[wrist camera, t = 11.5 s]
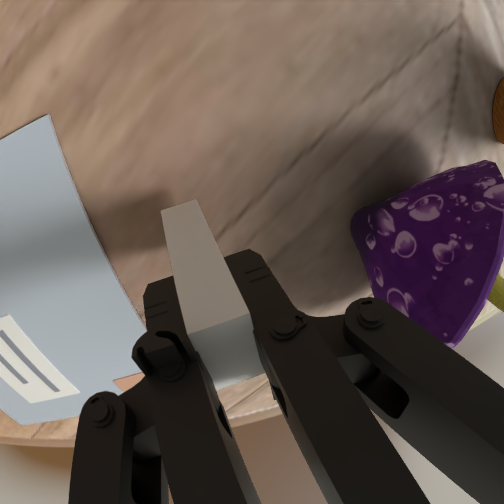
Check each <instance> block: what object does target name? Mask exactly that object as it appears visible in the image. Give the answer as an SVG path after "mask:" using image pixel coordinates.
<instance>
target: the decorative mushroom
mask: <svg viewBox="0 0 504 504" xmlns="http://www.w3.org/2000/svg"><path fill="white" fill-rule="evenodd" d="M350 229H351V235H352V237H353V240H354V242H355V244H356V246H357V248H358V250H359V252H360V254H361V257H362V260H363V263H364V266H365V269H366V272H367V275H368V278H369V282H370V285H371V288H372V292H373V295H374V298H379V299H381V300H383V301H385V302H387V303H389V304H390V305H392V306H393V307H394V308H396V309H397V310H399V311H400V312H401V313H403V314H404V315H406V316H407V317H408V318H410V319H411V320H413V321H414V322H415V323H417V324H418V325H420V326H421V327H422V328H424V329H425V330H427V331H428V332H429V333H431V334H432V335H434V336H435V337H436V338H438V339H439V340H440V341H442V342H443V343H444V344H446V345H447V346H449V347H450V348H451V349H453V348H454V347H455V346H456V345H457V344H458V343H459V342H460V341H461V340H462V339H463V337H464V336H465V334H466V333H467V332H468V330H469V329H470V327H471V326H472V324H473V323H474V321H475V320H476V318H477V317H478V315H479V314H480V312H481V310H482V309H483V307H484V306H485V304H486V302H487V300H489V301H490V302H491V303H492V304H494V305H495V306H496V307H497V308H498V309H500V310H501V311H503V312H504V279H503V278H502V277H501V276H500V275H499V274H498V272H499V270H500V267H501V264H502V261H503V257H504V179H503V177H502V175H501V173H500V171H499V169H498V167H497V165H496V163H494V162H491V161H487V160H483V161H480V162H477V163H474V164H470V165H467V166H462V167H455V168H451V169H449V170H446V171H444V172H442V173H439V174H437V175H434V176H432V177H430V178H427V179H425V180H423V181H421V182H419V183H417V184H415V185H413V186H411V187H409V188H407V189H405V190H403V191H401V192H400V193H398V194H396V195H394V196H392V197H391V198H389V199H387V200H385V201H383V202H380V203H376V204H372V205H369V206H367V207H364V208H362V209H361V210H359V211H358V212H356V213H355V215H354V216H353V218H352V219H351V224H350Z"/></svg>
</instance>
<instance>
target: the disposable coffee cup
mask: <svg viewBox="0 0 504 504" xmlns="http://www.w3.org/2000/svg"><path fill="white" fill-rule="evenodd" d="M493 126H494V132H495V135H496V138H497V139H498V141H499V142H500V143H502V144H504V78H503V79H502V80H501V81H500V83H499V86H498V88H497V91H496V94H495V98H494V105H493Z"/></svg>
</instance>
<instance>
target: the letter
mask: <svg viewBox="0 0 504 504" xmlns="http://www.w3.org/2000/svg"><path fill="white" fill-rule="evenodd" d="M145 332H147V329H146V327H145V325H144V323H143V322H142V320H141V318H140V317H139V315H138V313H137V311H136V310H135V308H134V306H133V305H132V303H131V301H130V299H129V297H128V296H127V294H126V292H125V290H124V288H123V286H122V285H121V283H120V281H119V279H118V277H117V275H116V273H115V271H114V269H113V267H112V266H111V264H110V262H109V260H108V258H107V256H106V254H105V252H104V250H103V247H102V245H101V243H100V241H99V239H98V237H97V235H96V233H95V231H94V228H93V226H92V224H91V222H90V220H89V217H88V215H87V213H86V211H85V208H84V206H83V204H82V201H81V199H80V197H79V194H78V192H77V189H76V187H75V184H74V182H73V179H72V177H71V174H70V172H69V169H68V166H67V164H66V161H65V158H64V156H63V153H62V150H61V147H60V144H59V141H58V138H57V135H56V132H55V129H54V126H53V123H52V120H51V117H50V114H48V115H46V116H44V117H42V118H40V119H38V120H36V121H34V122H32V123H30V124H28V125H26V126H24V127H22V128H21V129H19V130H17V131H15V132H13V133H12V134H10V135H8V136H6V137H5V138H3V139H1V140H0V409H1V410H2V411H3V412H5V413H6V414H7V415H8V416H10V417H11V418H12V419H14V420H15V421H16V422H18V423H19V424H21V425H28V424H35V423H42V422H48V421H54V420H60V419H65V418H71V417H76V416H80V413H81V410H82V407H83V405H84V403H85V402H86V401H87V400H88V399H89V397H91V396H93V395H94V394H96V393H98V392H103V391H109V392H114V393H115V394H117V395H118V396H119V395H121V394H122V393H124V392H125V391H127V390H128V389H130V388H132V387H133V386H135V385H136V384H137V383H138V382H140V381H141V380H142V378H143V377H144V376H145V375H144V374H143V372H142V371H141V370H140V368H139V367H138V366H137V365H136V363H135V362H134V361H133V359H132V358H131V356H132V348H133V347H134V345H135V343H136V341H137V340H138V339H139V338H140V337H141V336H142V335H143V334H144V333H145Z"/></svg>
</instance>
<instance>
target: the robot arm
mask: <svg viewBox="0 0 504 504" xmlns="http://www.w3.org/2000/svg"><path fill="white" fill-rule="evenodd" d="M161 217H162V222H163V227H164V233H165V238H166V243H167V248H168V253H169V258H170V263H171V267H172V272H173V276H171V277H168V278H165V279H162V280H159V281H156V282H153V283H150V284H148V285H147V288H146V290H145V293H144V295H143V301H144V309H145V319H146V329H147V332H145V333H144V334H143V335H142V336H141V337H140V338H139V339H138V340H137V341H136V343H135V345H134V347H133V348H132V356H131V358H132V359H133V361H134V362H135V363H136V365H137V366H138V367H139V368H140V370H141V371H142V372H143V374H144V375H145V376H144V377H143V378H142V380H141V381H140V382H138V383H137V384H136V385H135V386H133V387H132V388H130V389H128V390H127V391H125V392H124V393H122V394H121V395H119V396H118V395H117V394H115V393H114V392H109V391H103V392H98V393H96V394H94V395H93V396H91V397H89V399H88V400H87V401H86V402H85V403H84V405H83V407H82V410H81V413H80V417H79V423H78V429H77V435H76V441H75V448H74V455H73V462H72V470H71V480H70V490H69V502H68V504H169V498H168V484H169V488H170V492H171V495H172V499H173V502H174V504H261V502H260V499H259V497H258V495H257V492H256V490H255V488H254V485H253V483H252V481H251V478H250V476H249V473H248V471H247V468H246V466H245V463H244V461H243V458H242V456H241V453H240V450H239V448H238V445H237V443H236V440H235V437H234V435H233V432H232V429H231V427H230V424H229V421H228V418H227V416H226V413H225V410H224V407H223V405H222V404H221V402H220V400H219V398H218V395H217V392H216V390H219V389H222V388H225V387H228V386H230V385H233V384H236V383H239V382H242V381H245V380H247V379H250V378H253V377H255V376H258V375H261V374H263V373H266V375H267V377H268V379H269V382H270V386H271V390H272V394H273V398H274V400H277V402H278V404H279V406H280V409H281V411H282V413H283V415H284V417H285V419H286V421H287V423H288V425H289V427H290V429H291V431H292V433H293V435H294V437H295V440H296V442H297V444H298V446H299V447H300V450H301V452H302V454H303V456H304V458H305V460H306V462H307V464H308V465H309V468H310V469H311V471H312V473H313V475H314V477H315V479H316V481H317V483H318V485H319V487H320V489H321V491H322V493H323V495H324V497H325V499H326V501H327V502H328V504H430V502H429V501H428V499H427V498H426V496H425V494H424V493H423V491H422V490H421V488H420V486H419V485H418V483H417V482H416V480H415V479H414V477H413V475H412V474H411V472H410V471H409V469H408V468H407V466H406V464H405V463H404V461H403V460H402V458H401V457H400V455H399V454H398V452H397V450H396V449H395V448H394V446H393V444H392V443H391V441H390V440H389V438H388V436H387V435H386V433H385V432H384V430H383V429H382V427H381V426H380V424H379V423H378V421H377V420H376V418H375V416H374V415H373V414H372V412H371V410H372V411H373V412H374V413H375V414H377V415H378V416H379V417H380V418H381V419H382V420H383V421H384V422H385V423H386V424H388V425H389V426H390V427H391V428H392V429H393V430H394V431H395V432H397V433H398V434H399V435H400V436H401V437H402V438H403V439H404V440H406V441H407V442H408V443H409V444H410V445H411V446H412V447H414V448H415V449H416V450H417V451H418V452H419V453H420V454H422V455H423V456H424V457H425V458H426V459H427V460H429V461H430V462H431V463H432V464H433V465H434V466H435V467H437V468H438V469H439V470H440V471H441V472H443V473H444V474H445V475H446V476H447V477H448V478H450V479H451V480H452V481H453V482H454V483H456V484H457V485H458V486H459V487H461V488H462V489H463V490H464V491H465V492H466V493H468V494H469V495H470V496H471V497H473V498H474V499H475V500H476V501H477V502H479V503H480V504H504V388H503V387H501V386H500V385H499V384H498V383H496V382H495V381H493V380H492V379H491V378H490V377H488V376H487V375H486V374H484V373H483V372H482V371H481V370H479V369H478V368H476V367H475V366H474V365H473V364H471V363H470V362H469V361H467V360H466V359H465V358H463V357H462V356H461V355H459V354H458V353H457V352H455V351H454V350H453V349H451V348H450V347H449V346H447V345H446V344H444V343H443V342H442V341H440V340H439V339H438V338H436V337H435V336H434V335H432V334H431V333H429V332H428V331H427V330H425V329H424V328H422V327H421V326H420V325H418V324H417V323H415V322H414V321H413V320H411V319H410V318H408V317H407V316H406V315H404V314H403V313H401V312H400V311H399V310H397V309H396V308H394V307H393V306H392V305H390V304H389V303H387V302H385V301H383V300H381V299H379V298H372V297H367V298H360V299H358V300H356V301H354V302H352V303H351V304H350V305H349V306H348V307H347V309H346V312H345V314H343V315H336V316H329V317H313V316H309V315H306V314H305V313H304V312H301V311H299V310H297V309H296V308H295V307H294V305H293V304H292V303H291V301H290V300H289V298H288V296H287V295H286V293H285V292H284V290H283V289H282V287H281V286H280V284H279V283H278V281H277V279H276V278H275V276H274V275H273V274H272V272H271V270H270V269H269V267H268V266H267V264H266V263H265V261H264V260H263V258H262V256H261V255H259V254H258V253H256V252H254V251H252V250H251V249H247V250H244V251H241V252H238V253H235V254H232V255H229V256H226V257H223V256H222V254H221V251H220V249H219V247H218V245H217V243H216V241H215V239H214V236H213V234H212V232H211V230H210V228H209V226H208V223H207V221H206V219H205V217H204V215H203V213H202V210H201V208H200V206H199V204H198V202H197V199H194V200H191V201H188V202H185V203H182V204H179V205H176V206H173V207H170V208H167V209H164V210H161ZM264 370H265V372H264ZM215 388H216V389H215ZM369 408H370V409H371V410H370V409H369Z"/></svg>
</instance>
